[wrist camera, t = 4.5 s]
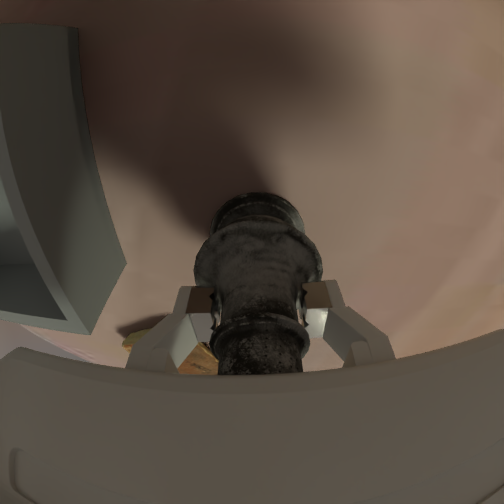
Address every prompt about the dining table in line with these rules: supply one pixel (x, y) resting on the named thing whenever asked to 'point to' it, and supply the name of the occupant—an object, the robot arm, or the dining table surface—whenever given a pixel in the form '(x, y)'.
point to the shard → (194, 363)
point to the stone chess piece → (258, 284)
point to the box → (50, 187)
